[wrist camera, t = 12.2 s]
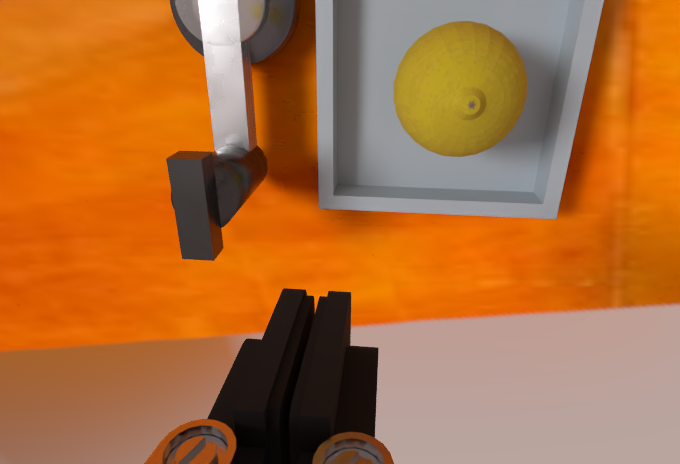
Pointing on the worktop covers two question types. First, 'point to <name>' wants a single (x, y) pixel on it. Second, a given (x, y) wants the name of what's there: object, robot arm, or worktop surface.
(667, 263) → the worktop surface
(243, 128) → the crank handle
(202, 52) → the crank base
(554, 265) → the worktop surface
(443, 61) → the lemon
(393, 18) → the tray
